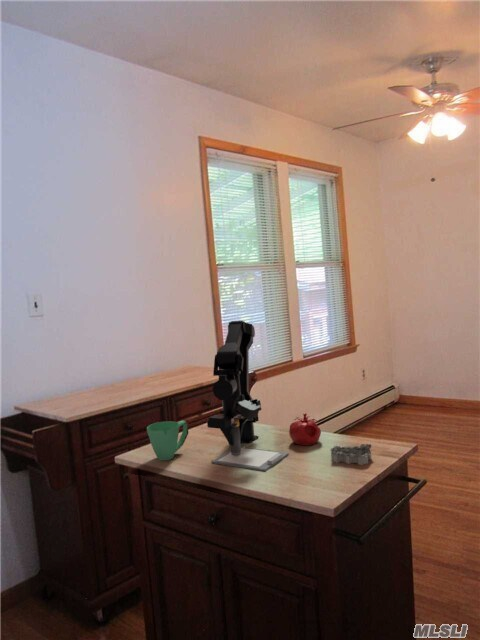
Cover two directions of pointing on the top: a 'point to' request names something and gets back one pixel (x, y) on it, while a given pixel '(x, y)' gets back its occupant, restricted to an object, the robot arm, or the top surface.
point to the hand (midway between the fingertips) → (235, 443)
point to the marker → (236, 440)
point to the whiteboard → (251, 459)
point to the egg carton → (351, 454)
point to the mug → (166, 438)
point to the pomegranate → (304, 431)
